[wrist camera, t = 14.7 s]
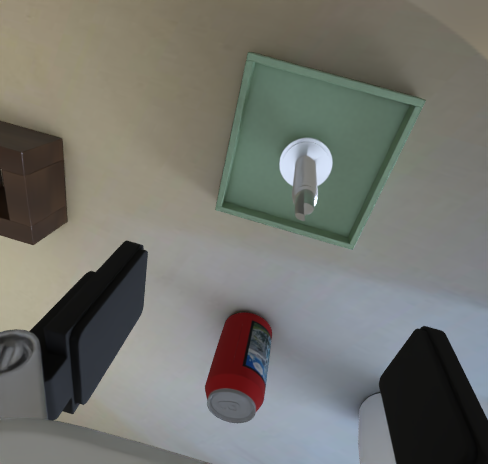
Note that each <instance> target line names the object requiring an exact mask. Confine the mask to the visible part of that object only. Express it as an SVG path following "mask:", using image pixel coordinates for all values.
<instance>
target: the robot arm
mask: <svg viewBox="0 0 488 464" xmlns="http://www.w3.org/2000/svg"><path fill="white" fill-rule="evenodd" d="M147 257H148V252H147V251H146V250H144V248H143V245H140V244H137V243H133V242H130V241H125V242H124V243H123V244H122V245H121V246H120V247H119V248H118V249H117V250H116V251H115V252H114V253H113V254H112V255H111V256H110V258H109V259H108V260H107V261H106V262H105V263H104V264H103V265H102V266H101V267H100V268H99V269H98V270H97V271H96V272H93V271H90V272H88V273H86V274H85V275H84V276H83V277H82V278H81V279H80V280H79V281H78V282H77V283H76V284H75V285H74V286H73V287H72V288H71V289H70V290H69V291H68V292H67V294H66V295H65V296H64V297H63V298H62V299H61V300H60V301H59V302H58V303H57V304H56V305H55V306H54V307H53V308H52V309H51V310H50V311H49V312H48V313H47V314H46V315H45V316H44V317H43V318H42V319H41V320H40V321H39V322H38V323H37V324H36V325H35V326H34V327H33V328H32V329H31V330H30V331H26V330H17V329H16V330H7V331H3V332H0V464H211V463H208V462H204V461H201V460H197V459H194V458H191V457H187V456H184V455H181V454H177V453H174V452H171V451H167V450H164V449H161V448H157V447H154V446H151V445H147V444H144V443H141V442H137V441H133V440H130V439H126V438H123V437H119V436H115V435H112V434H108V433H105V432H101V431H97V430H94V429H90V428H87V427H82V426H78V425H73V424H69V423H64V422H60V421H53V420H55V419H57V418H58V417H59V415H60V414H61V412H62V411H64V412H67V413H70V414H74V412H75V410H76V409H77V407H78V406H79V404H82V405H84V404H86V403H87V401H88V400H89V398H90V397H91V395H92V393H93V392H94V390H95V389H96V387H97V385H98V384H99V382H100V381H101V379H102V377H103V376H104V374H105V372H106V371H107V369H108V368H109V366H110V364H111V363H112V361H113V359H114V358H115V356H116V355H117V353H118V351H119V350H120V348H121V346H122V345H123V343H124V342H125V340H126V338H127V337H128V335H129V333H130V332H131V330H132V329H133V327H134V325H135V324H136V322H137V321H138V319H139V317H140V315H141V313H142V310H143V305H144V293H145V281H146V269H147ZM379 387H380V392H381V397H382V401H383V406H384V410H385V415H386V420H387V424H388V429H389V433H390V438H391V442H392V447H393V452H394V456H395V461H396V464H488V420H487V418H486V416H485V414H484V411H483V409H482V407H481V405H480V403H479V401H478V399H477V397H476V395H475V393H474V391H473V389H472V387H471V385H470V383H469V381H468V379H467V377H466V375H465V373H464V371H463V369H462V367H461V365H460V363H459V361H458V359H457V356H456V354H455V352H454V350H453V348H452V346H451V344H450V342H449V340H448V338H447V336H446V334H445V333H444V332H443V331H441V330H437V329H434V328H430V327H427V326H423V327H421V328H420V329H416V330H415V331H414V332H413V333H412V334H411V336H410V337H409V339H408V340H407V341H406V343H405V344H404V345H403V347H402V348H401V350H400V351H399V352H398V354H397V355H396V356H395V358H394V359H393V360H392V362H391V363H390V365H389V366H388V367H387V369H386V370H385V371H384V373H383V374H382V376H381V377H380V381H379Z"/></svg>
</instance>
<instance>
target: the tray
mask: <svg viewBox="0 0 488 464" xmlns="http://www.w3.org/2000/svg"><path fill="white" fill-rule="evenodd" d="M425 101H426V100H424V99H421V98H419V97H416V96H412V95H408V94H404V93H401V92H397V91H393V90H390V89H386V88H382V87H379V86H375V85H371V84H368V83H364V82H360V81H357V80H353V79H349V78H345V77H342V76H338V75H334V74H331V73H327V72H323V71H320V70H316V69H312V68H309V67H305V66H301V65H298V64H294V63H290V62H286V61H283V60H279V59H275V58H272V57H268V56H264V55H261V54H257V53H253V52H248V54H247V60H246V64H245V69H244V73H243V78H242V83H241V88H240V93H239V98H238V102H237V107H236V112H235V117H234V122H233V127H232V131H231V136H230V141H229V146H228V151H227V155H226V160H225V165H224V170H223V175H222V180H221V184H220V189H219V194H218V199H217V204H216V209H215V210H217V211H221V212H224V213H228V214H231V215H235V216H238V217H241V218H245V219H248V220H252V221H255V222H259V223H262V224H265V225H269V226H272V227H276V228H279V229H283V230H286V231H290V232H293V233H296V234H300V235H303V236H307V237H310V238H314V239H317V240H320V241H324V242H327V243H331V244H334V245H338V246H341V247H344V248H348V249H351V250H353V248H354V246H355V244H356V242H357V240H358V238H359V236H360V234H361V232H362V230H363V228H364V226H365V224H366V222H367V220H368V218H369V216H370V214H371V212H372V210H373V208H374V206H375V204H376V201H377V199H378V197H379V195H380V193H381V191H382V189H383V187H384V185H385V183H386V181H387V179H388V177H389V175H390V173H391V171H392V169H393V167H394V165H395V163H396V161H397V159H398V157H399V155H400V152H401V150H402V148H403V146H404V144H405V142H406V140H407V138H408V136H409V134H410V132H411V130H412V128H413V126H414V124H415V122H416V120H417V118H418V116H419V114H420V112H421V110H422V107H423V105H424V103H425ZM304 137H310V138H315V139H318V140H320V141H321V142H323V143H324V144H325V145H326V146H327V147H328V149H329V150H330V153H331V155H332V162H333V163H332V169H331V172H330V174H329V176H328V178H327V179H326V180H325V181H324V182H323V183H322V184H320V185H319V186H317V189H318V198H317V202H316V204H315V206H314V211H313V212H312V213H311V214H307V215H305V221H301V220H299V219H297V218H296V216H295V205H294V203H293V200H292V188H293V186H292V185H290V184H289V183H287V181H286V180H285V179H284V178H283V176H282V174H281V171H280V165H279V163H280V157H281V154H282V152H283V150H284V149H285V147H286V146H287V145H288V144H289V143H291V142H292V141H294V140H296V139H299V138H304Z"/></svg>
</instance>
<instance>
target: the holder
mask: <svg viewBox="0 0 488 464" xmlns="http://www.w3.org/2000/svg"><path fill="white" fill-rule="evenodd" d="M0 169H2V175H3V181H4V186H3V183H2V177H1V171H0V235H1V236H4V237H8V238H11V239H14V240H18V241H21V242H24V243H28V244H31V245H34V244H36V243H37V242H39V241H40V240H42V239H43V238H45V237H46V236H47V235H49V234H50V233H52V232H53V231H55V230H56V229H58V228H59V227H60V226H62V225H63V224H65V223H66V222H67V208H66V191H65V174H64V160H63V143H62V138H58V137H55V136H51V135H48V134H44V133H41V132H37V131H34V130H30V129H27V128H23V127H20V126H17V125H13V124H10V123H6V122H3V121H0Z"/></svg>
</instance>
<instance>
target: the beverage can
mask: <svg viewBox="0 0 488 464" xmlns="http://www.w3.org/2000/svg"><path fill="white" fill-rule="evenodd" d="M271 339H272V330H271V327H270V325H269V324H268V323H267V321H266V320H264V319H263V318H262V317H260V316H258V315H256V314H253V313H247V312H242V313H236V314H234V315H232V316H230V317H229V318H228V319H227V320H226V322H225V324H224V327H223V330H222V333H221V336H220V339H219V343H218V346H217V349H216V352H215V355H214V359H213V362H212V365H211V368H210V372H209V375H208V378H207V382H206V385H205V392H206V396H207V406H208V408H209V410H210V411H211V412H212V413H213V414H214V415H215V416H216V417H218V418H220V419H222V420H224V421H227V422H231V423H244V422H247V421H250V420H251V419H252V418H253V417H254V416H255V413H256V411H257V410H258V409H259V408H260V406H261V405H262V403H263V401H264V394H265V387H266V380H267V372H268V365H269V356H270V348H271Z"/></svg>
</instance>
